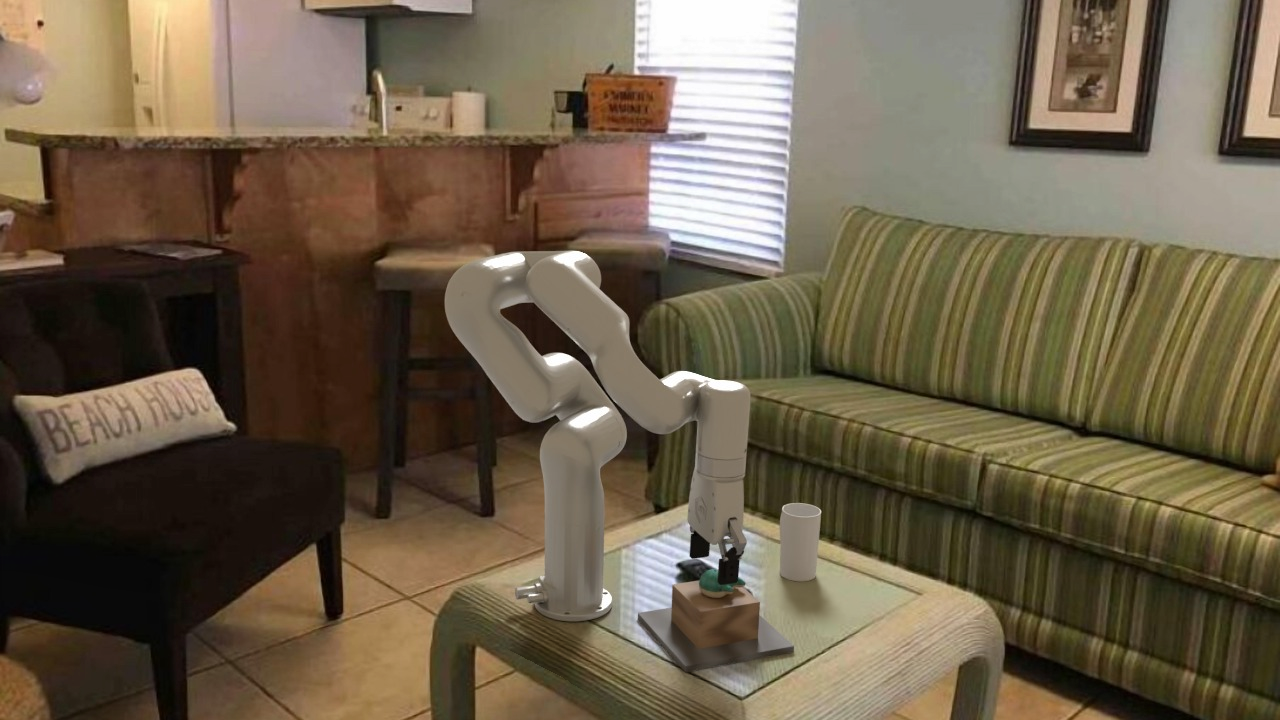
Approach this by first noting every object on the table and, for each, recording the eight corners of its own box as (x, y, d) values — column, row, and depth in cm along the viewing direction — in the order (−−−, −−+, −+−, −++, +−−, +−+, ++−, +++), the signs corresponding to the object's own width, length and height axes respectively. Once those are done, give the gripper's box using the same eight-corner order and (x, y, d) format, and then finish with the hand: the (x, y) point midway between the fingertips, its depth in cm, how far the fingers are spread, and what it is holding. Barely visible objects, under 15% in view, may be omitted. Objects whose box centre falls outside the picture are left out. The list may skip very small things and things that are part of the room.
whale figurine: (691, 588, 172) (692, 565, 171) (732, 580, 175) (733, 558, 174) (710, 604, 167) (711, 580, 166) (751, 595, 170) (753, 572, 169)
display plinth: (685, 672, 160) (687, 628, 159) (637, 618, 176) (638, 577, 175) (793, 652, 167) (796, 609, 166) (738, 602, 183) (740, 562, 182)
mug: (824, 579, 193) (828, 514, 190) (790, 584, 190) (794, 519, 188) (795, 557, 202) (799, 495, 199) (762, 562, 199) (766, 499, 197)
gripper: (673, 447, 172) (667, 550, 176) (724, 485, 156) (716, 597, 160) (717, 444, 175) (710, 545, 179) (770, 481, 159) (761, 590, 163)
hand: (713, 569), depth 170 cm, fingers open, 9 cm apart
